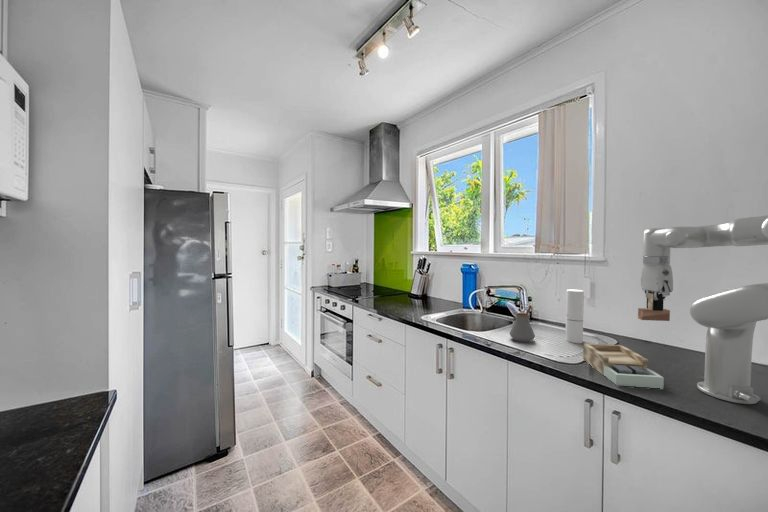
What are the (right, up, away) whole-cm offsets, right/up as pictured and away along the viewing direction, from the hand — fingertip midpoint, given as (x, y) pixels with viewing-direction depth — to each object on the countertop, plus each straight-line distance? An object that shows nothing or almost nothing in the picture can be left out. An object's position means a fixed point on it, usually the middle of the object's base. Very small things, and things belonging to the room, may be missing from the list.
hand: (654, 309), depth 112 cm
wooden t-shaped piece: (0, -4, 0) cm, 4 cm away
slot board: (-15, -23, +1) cm, 28 cm away
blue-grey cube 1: (-14, -21, -8) cm, 26 cm away
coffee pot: (-31, -22, +39) cm, 54 cm away
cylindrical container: (-9, -22, +33) cm, 41 cm away
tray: (-17, -24, -10) cm, 31 cm away
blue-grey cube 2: (-19, -21, -7) cm, 29 cm away
